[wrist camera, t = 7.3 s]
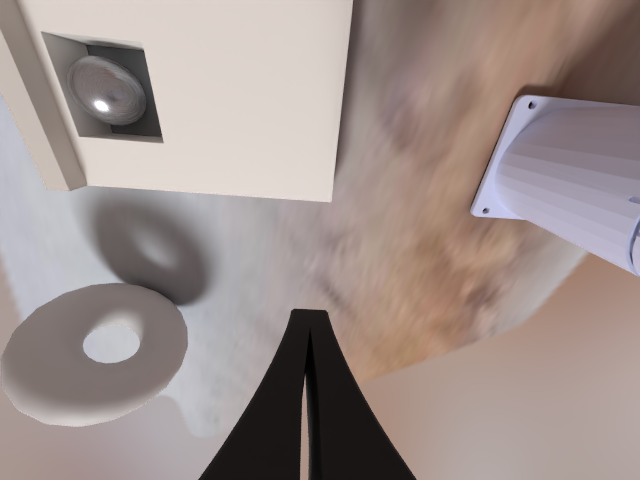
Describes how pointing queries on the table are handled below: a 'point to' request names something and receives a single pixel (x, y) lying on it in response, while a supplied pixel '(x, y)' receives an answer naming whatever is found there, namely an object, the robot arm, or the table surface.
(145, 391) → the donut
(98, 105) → the ball
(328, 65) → the board
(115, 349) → the table surface
